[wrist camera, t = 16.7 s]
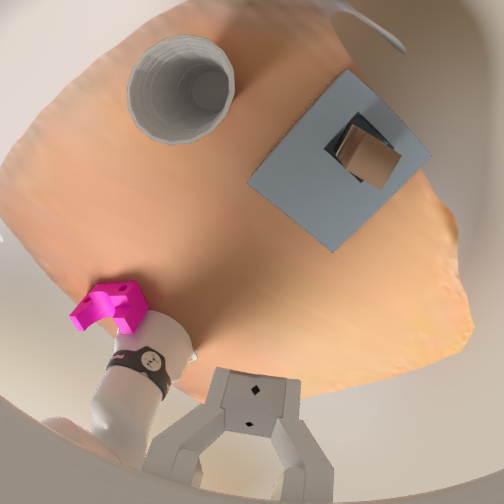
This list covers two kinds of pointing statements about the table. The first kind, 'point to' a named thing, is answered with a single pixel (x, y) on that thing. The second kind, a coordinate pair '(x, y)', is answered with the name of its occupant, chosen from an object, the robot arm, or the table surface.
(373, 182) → the walnut peg
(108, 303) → the toy block
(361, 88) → the socket board
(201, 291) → the table surface
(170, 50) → the plastic cup
